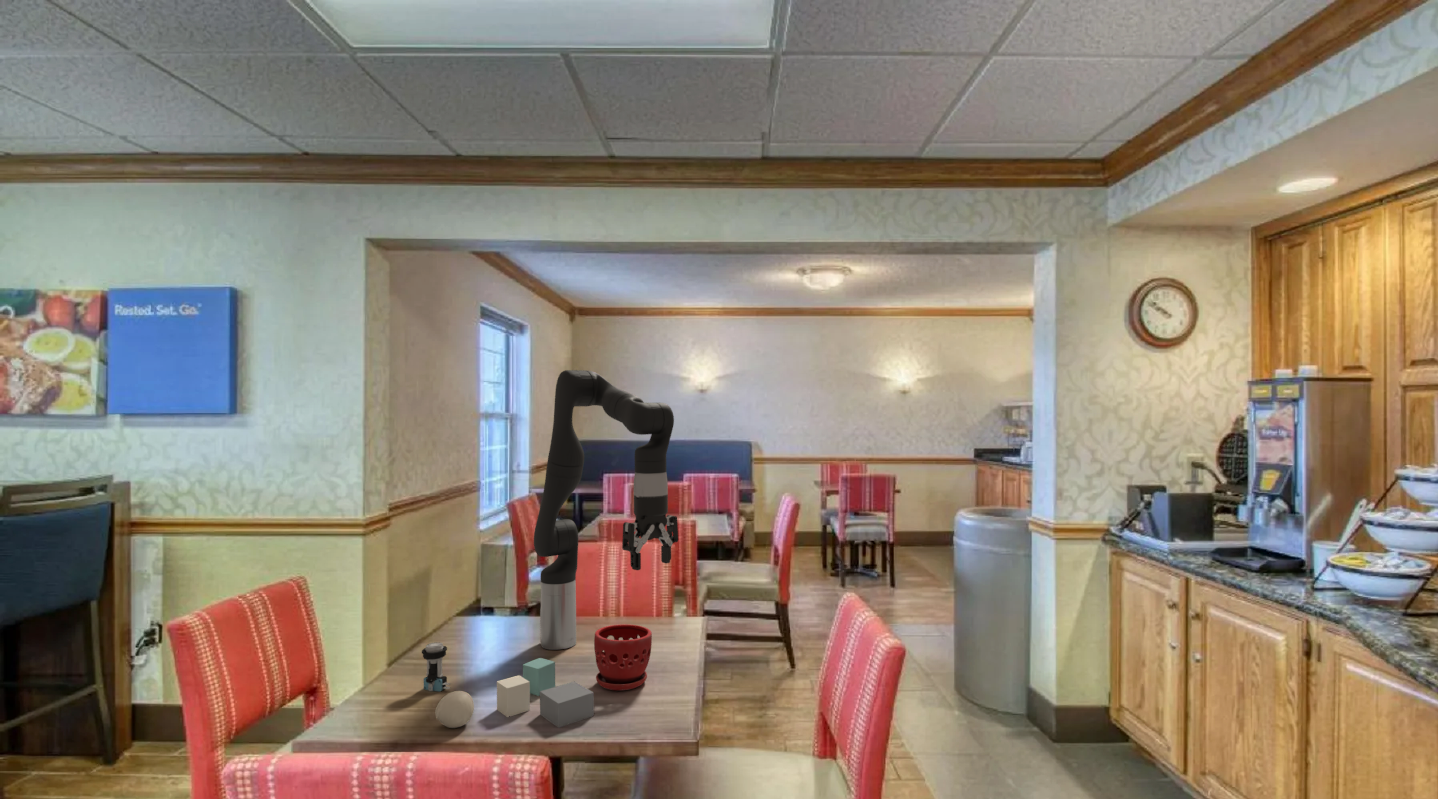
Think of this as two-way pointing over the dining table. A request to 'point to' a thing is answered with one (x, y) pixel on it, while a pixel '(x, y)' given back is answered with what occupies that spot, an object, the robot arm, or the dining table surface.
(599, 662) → the plant pot
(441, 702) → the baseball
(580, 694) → the slate base block
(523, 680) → the cream block
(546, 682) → the teal block
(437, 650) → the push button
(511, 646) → the dining table surface
